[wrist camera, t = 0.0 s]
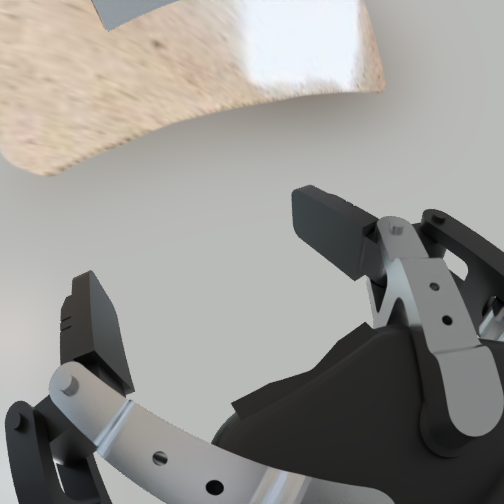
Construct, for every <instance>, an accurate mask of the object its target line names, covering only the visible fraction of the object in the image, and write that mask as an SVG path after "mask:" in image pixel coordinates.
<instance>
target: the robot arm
mask: <svg viewBox="0 0 504 504" xmlns="http://www.w3.org/2000/svg"><path fill="white" fill-rule="evenodd" d="M292 216H293V227H294V230H295V232H296V234H297V235H298V237H299V238H301V239H302V240H303V241H304V242H306V243H307V244H308V245H310V246H311V247H312V248H314V249H315V250H316V251H317V252H319V253H320V254H321V255H322V256H324V257H325V258H326V259H327V260H329V261H330V262H331V263H333V264H334V265H335V266H336V267H338V268H339V269H340V270H341V271H343V272H344V273H345V274H346V275H348V276H349V277H350V278H351V279H352V280H354V281H356V280H357V279H359V278H360V277H362V276H364V275H366V276H367V277H368V278H367V288H368V293H369V299H370V304H371V309H372V314H373V322H374V326H373V329H372V328H371V327H370V326H369V325H368V324H367V323H366V322H364V323H363V324H361V325H360V326H359V327H357V328H356V329H355V330H353V331H352V332H350V333H349V334H347V335H346V336H345V337H343V338H342V339H340V340H339V341H338V342H337V343H336V344H335V345H334V346H333V348H332V349H331V350H330V351H329V352H328V353H327V354H326V355H325V356H324V358H323V359H322V360H321V361H320V362H319V363H318V364H317V365H316V366H315V367H314V368H313V369H312V370H310V371H308V372H305V373H302V374H299V375H295V376H292V377H289V378H286V379H283V380H279V381H276V382H272V383H269V384H267V385H265V386H263V387H262V388H260V389H258V390H256V391H254V392H252V393H250V394H248V395H246V396H244V397H242V398H240V399H238V400H236V401H234V402H232V403H231V404H232V406H233V408H234V409H235V411H236V412H235V413H234V414H233V415H232V416H231V417H230V418H228V419H227V421H226V422H225V423H224V424H223V425H222V426H221V427H220V429H219V430H218V432H217V433H216V435H215V437H214V438H213V440H212V442H211V444H210V443H208V442H206V441H204V440H202V439H199V438H198V437H195V436H193V435H191V434H189V433H188V432H186V431H184V430H182V429H180V428H178V427H176V426H174V425H172V424H171V423H169V422H167V421H165V420H164V419H162V418H160V417H158V416H157V415H155V414H153V413H152V412H150V411H148V410H147V409H145V408H144V407H142V406H140V405H139V404H137V403H135V402H134V401H132V400H128V399H126V395H127V394H130V393H132V392H135V389H134V386H133V383H132V379H131V375H130V372H129V368H128V364H127V360H126V356H125V352H124V347H123V343H122V338H121V334H120V328H119V323H118V318H117V314H116V311H115V309H114V306H113V304H112V302H111V301H110V299H109V297H108V296H107V294H106V293H105V291H104V289H103V288H102V286H101V285H100V283H99V281H98V279H97V277H96V276H95V274H94V273H93V271H91V270H90V271H88V272H86V273H83V274H81V275H79V276H77V277H75V278H73V280H72V295H70V296H68V297H66V299H65V301H64V304H63V306H62V308H61V323H60V330H61V332H60V360H61V362H60V363H61V366H60V367H59V368H58V369H57V370H56V371H55V372H54V374H53V375H52V377H51V380H50V384H49V395H48V396H47V397H46V398H44V399H43V400H42V401H41V402H40V403H38V404H37V405H36V406H35V407H32V406H31V405H29V404H28V403H26V402H24V401H17V402H15V403H14V404H13V405H12V406H11V407H10V408H9V410H8V412H7V415H6V418H5V432H6V441H7V449H8V456H9V462H10V468H11V473H12V478H13V482H14V487H15V491H16V494H17V498H18V502H19V504H112V502H111V500H110V498H109V495H108V493H107V490H106V488H105V485H104V483H103V481H102V478H101V475H100V473H99V470H98V467H97V464H96V461H95V458H94V455H93V453H94V452H95V451H97V452H98V453H99V455H100V456H101V457H103V458H104V459H105V460H106V461H107V462H109V463H110V464H111V465H112V466H113V467H115V468H116V469H117V470H118V471H120V472H121V473H122V474H123V475H125V476H126V477H127V478H129V479H130V480H132V481H133V482H134V483H136V484H137V485H139V486H140V487H142V488H143V489H144V490H146V491H147V492H149V493H150V494H152V495H153V496H155V497H157V498H158V499H160V500H161V501H163V502H165V503H166V504H504V252H502V251H501V250H500V249H498V248H497V247H496V246H494V245H493V244H492V243H490V242H489V241H487V240H486V239H485V238H483V237H482V236H480V235H479V234H477V233H476V232H474V231H472V230H471V229H470V228H468V227H467V226H465V225H464V224H462V223H460V222H459V221H458V220H456V219H454V218H453V217H451V216H449V215H448V214H446V213H444V212H442V211H439V210H435V209H428V210H425V211H424V212H423V215H422V219H421V223H416V224H410V223H409V222H408V221H406V220H404V219H402V218H399V217H394V216H386V217H383V218H381V219H378V218H376V217H375V216H373V215H371V214H369V213H368V212H366V211H364V210H362V209H360V208H359V207H357V206H353V204H351V203H350V202H346V201H345V200H344V199H342V198H340V197H338V196H336V195H333V194H329V193H326V192H324V191H322V190H320V189H318V188H317V187H314V186H312V185H307V186H304V187H301V188H299V189H296V190H294V191H293V192H292ZM446 249H448V250H449V251H451V252H452V253H454V254H455V255H456V256H458V257H459V258H460V259H462V260H463V261H464V262H465V263H466V264H467V266H468V274H467V277H466V279H465V281H463V280H462V279H461V278H459V277H458V276H457V275H456V274H454V273H453V272H452V271H450V270H449V269H448V267H447V266H446V263H445V262H444V260H443V257H444V254H445V251H446ZM495 296H496V298H495ZM477 335H478V336H479V337H480V338H478V337H477ZM54 462H56V464H57V468H58V472H59V475H60V478H61V482H62V485H63V488H64V491H65V493H64V492H63V490H62V488H61V486H60V483H59V479H58V476H57V472H56V469H55V465H54Z"/></svg>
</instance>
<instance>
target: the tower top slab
mask: <svg viewBox="0 0 504 504" xmlns="http://www.w3.org/2000/svg"><path fill="white" fill-rule="evenodd" d="M176 1H178V0H93V3H94V5H95V7H96V9H97V11H98V13H99V15H100V18H101V20H102V22H103V24H104V26H105V28H106V30H107V31H108V32H109V31H110V30H112V29H114V28H116V27H118V26H120V25H122V24H124V23H126V22H128V21H130V20H132V19H134V18H136V17H139V16H141V15H143V14H145V13H148V12H150V11H152V10H155V9H157V8H160V7H162V6H165V5H167V4H170V3H173V2H176Z"/></svg>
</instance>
